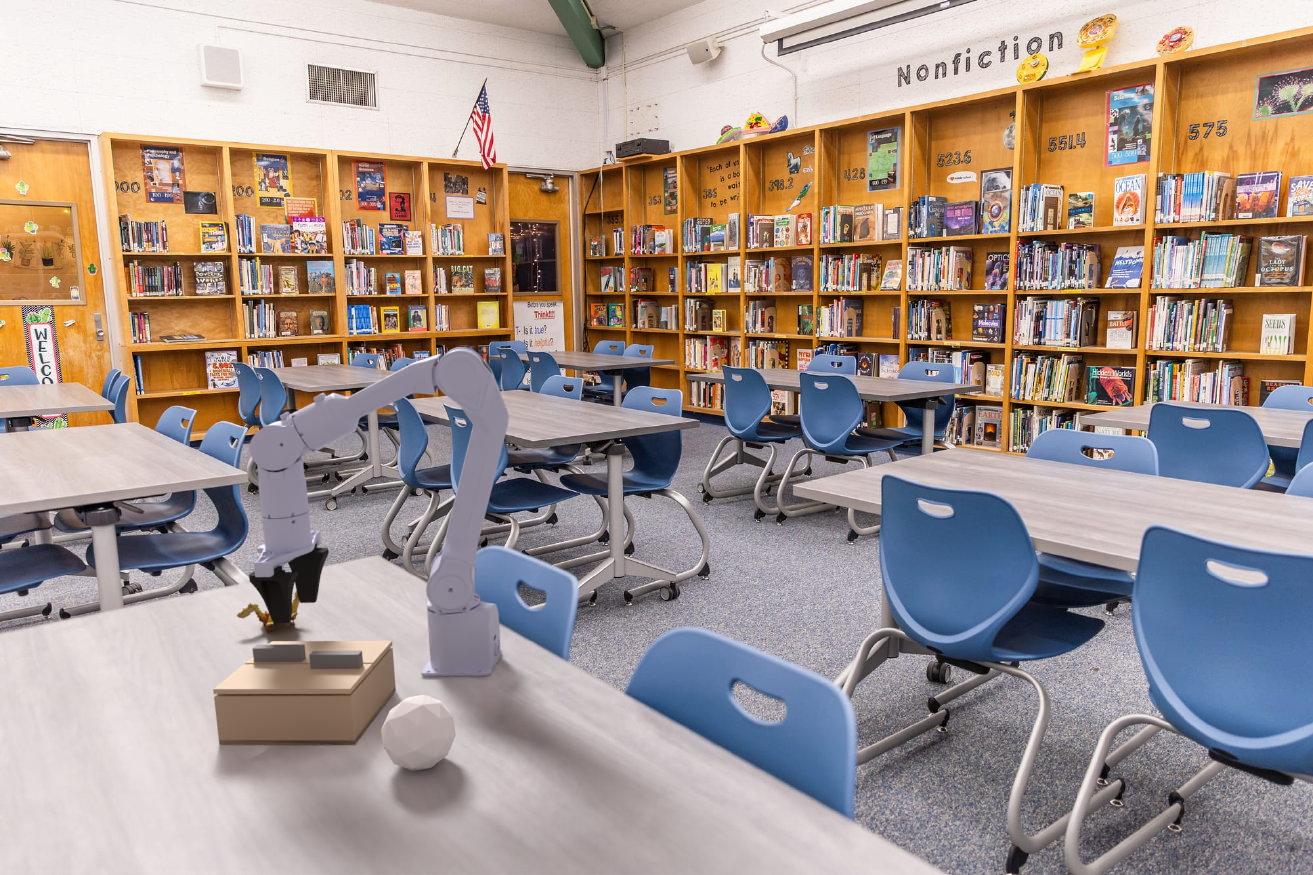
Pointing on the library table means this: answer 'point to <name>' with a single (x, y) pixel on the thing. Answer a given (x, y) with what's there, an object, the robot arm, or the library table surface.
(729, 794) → the library table surface
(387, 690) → the carton
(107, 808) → the library table surface
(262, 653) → the right flap
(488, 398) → the robot arm
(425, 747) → the geometric ball
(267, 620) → the yellow dragon figurine
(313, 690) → the left flap
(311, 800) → the library table surface
